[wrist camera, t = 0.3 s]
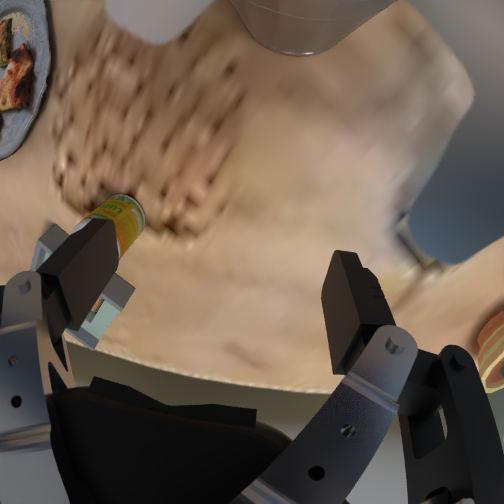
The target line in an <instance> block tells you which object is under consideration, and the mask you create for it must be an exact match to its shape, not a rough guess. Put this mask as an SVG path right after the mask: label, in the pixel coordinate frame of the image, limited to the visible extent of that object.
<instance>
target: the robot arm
mask: <svg viewBox="0 0 504 504" xmlns="http://www.w3.org/2000/svg"><path fill="white" fill-rule="evenodd" d="M230 1H231V3H232V4H233V6H234V7H235V9H236V11H237V12H238V14H239V16H240V18H241V19H242V21H243V22H244V24H245V26H246V28H247V29H248V31H249V33H250V34H251V35H252V36H253V37H254V38H255V40H257V41H258V42H259V43H260V44H262V45H263V46H264V47H266V48H268V49H270V50H272V51H274V52H277V53H280V54H284V55H289V56H296V57H299V56H311V55H316V54H320V53H322V52H324V51H326V50H329V49H330V48H331V47H333V46H334V45H336V44H337V43H338V42H340V41H341V40H343V39H344V38H345V37H346V36H348V35H349V34H350V33H352V32H353V31H354V30H356V29H357V28H359V27H360V26H361V25H363V24H364V23H365V22H367V21H368V20H370V19H371V18H372V17H374V16H375V15H377V14H378V13H380V12H381V11H383V10H384V9H385V8H387V7H388V6H389V5H391V4H392V3H394V2H395V1H397V0H230ZM118 263H119V252H118V245H117V237H116V229H115V223H114V221H113V220H111V219H103V218H93V219H91V220H90V221H89V222H88V223H87V224H86V225H85V226H84V227H83V228H82V229H80V230H78V231H76V232H75V233H73V234H71V235H70V236H69V237H68V238H67V239H66V240H65V241H64V242H63V243H62V244H61V245H60V246H59V247H58V248H57V249H56V251H54V252H53V253H52V254H51V255H50V256H49V257H48V258H47V259H46V260H45V262H44V263H43V264H42V265H41V266H40V267H39V268H38V269H37V270H36V271H24V272H20V273H18V274H16V275H14V276H13V277H12V278H11V279H10V280H9V281H8V282H7V284H6V285H1V286H0V504H350V503H349V502H348V501H347V500H346V497H347V496H348V494H349V493H350V492H351V490H352V489H353V487H354V486H355V484H356V483H357V481H358V480H359V478H360V477H361V475H362V474H363V472H364V471H365V469H366V467H367V466H368V464H369V463H370V461H371V459H372V458H373V456H374V454H375V453H376V451H377V449H378V448H379V446H380V444H381V442H382V441H383V439H384V437H385V435H386V433H387V431H388V429H389V428H390V425H391V424H392V422H393V420H394V418H395V416H396V414H397V413H398V416H399V422H400V429H401V436H402V443H403V451H404V459H405V469H406V479H407V492H408V504H504V454H503V449H502V445H501V441H500V437H499V433H498V430H497V427H496V423H495V419H494V416H493V413H492V409H491V406H490V403H489V400H488V397H487V394H486V391H485V389H484V386H483V383H482V380H481V378H480V375H479V373H478V370H477V367H476V365H475V362H474V360H473V358H472V357H471V355H470V354H469V353H468V352H467V351H466V350H464V349H463V348H461V347H459V346H457V345H447V346H445V347H444V348H443V349H442V351H441V352H440V353H439V355H437V354H433V353H430V352H427V351H423V350H420V349H418V347H417V343H416V341H415V339H414V338H413V337H412V336H411V335H410V334H409V333H408V332H407V331H405V330H404V329H402V328H400V327H397V326H396V323H395V321H394V318H393V316H392V313H391V311H390V308H389V306H388V303H387V301H386V299H385V298H384V297H385V296H384V293H383V291H382V290H381V286H380V284H379V282H378V279H377V277H376V276H375V275H374V274H373V273H372V272H371V271H370V270H369V269H368V268H363V267H362V264H361V262H360V259H359V257H358V255H357V253H355V252H348V251H341V250H335V251H334V253H333V256H332V259H331V262H330V265H329V268H328V272H327V275H326V278H325V281H324V284H323V288H322V295H321V300H322V307H323V313H324V318H325V325H326V331H327V337H328V343H329V350H330V357H331V364H332V371H333V374H336V375H345V377H344V378H343V379H342V381H341V382H340V383H339V385H338V386H337V387H336V389H335V390H334V391H333V393H332V394H331V395H330V397H329V398H328V399H327V401H326V402H325V403H324V404H323V406H322V407H321V408H320V409H319V411H318V412H317V413H316V415H315V416H314V417H313V418H312V419H311V420H310V422H309V423H308V424H307V425H306V426H305V428H304V429H303V430H302V431H301V432H300V433H299V435H298V436H297V437H296V438H295V439H294V440H292V439H290V438H289V437H288V436H287V435H285V434H284V433H283V432H281V431H279V430H278V429H276V428H274V427H272V426H270V425H268V424H265V423H263V422H260V421H257V420H256V413H257V409H249V408H241V407H232V406H225V405H218V404H206V405H205V404H204V405H184V406H183V405H180V406H169V405H165V404H163V403H161V402H159V401H157V400H155V399H153V398H151V397H149V396H147V395H145V394H143V393H141V392H139V391H137V390H135V389H133V388H132V387H129V386H126V385H122V384H119V383H115V382H112V381H109V380H105V379H102V378H99V377H95V376H94V378H93V380H92V382H91V384H90V386H82V387H76V385H75V382H74V379H73V375H72V371H71V367H70V362H69V357H68V352H67V347H66V341H65V337H64V335H63V332H64V330H65V329H66V328H67V329H70V330H74V331H77V332H78V330H79V329H80V327H81V325H82V324H83V322H84V320H85V319H86V317H87V315H88V314H89V312H90V311H91V309H92V307H93V306H94V304H95V302H96V301H97V299H98V298H99V296H100V295H101V293H102V292H103V290H104V288H105V287H106V285H107V284H108V282H109V281H110V279H111V278H112V276H113V275H114V273H115V272H116V270H117V267H118ZM442 408H443V412H444V416H445V419H446V424H447V437H446V439H445V436H444V432H443V427H442V423H441V418H440V414H439V411H440V410H441V409H442Z"/></svg>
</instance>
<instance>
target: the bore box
mask: <svg viewBox="0 0 504 504" xmlns="http://www.w3.org/2000/svg"><path fill="white" fill-rule="evenodd" d="M68 237H69V235H68V234H67V233H66V232H65V231H63V230H62V229H61V228H60V227H59V226H58V225H57V224H56V225H54V226H53V227H52V228H51V229H50V230H48V231H47V232H46V233H45V234H44V235H42V236H41V237H40V238H39V239H38V241H37V245H36V249H35V252H34V256H33V260H32V265H31V269H30V271H36V270H37V269H38V268H39V267H40V266H41V265H42V264H43V263H44V262H45V260H46V259H47V258H48V257H49V256H50V255H51V254H52V253H53V252H54V251H56V249H57V248H58V247H59V246H60V245H61V244H62V243H63V242H64V241H65V240H66V239H67V238H68ZM135 289H136V288H134V287H133V286H132V285H130V284H129V283H128V282H126V281H125V280H124V279H122V278H121V277H120V276H118V275H117V274H116V273H114V275H113V276H112V278H111V279H110V281H109V282H108V284H107V285H106V287H105V288H104V290H103V292H102V293H101V295H100V297H101V298H103V299H104V300H105V301H104V302H103V304H102V305H101V307H100V309H99V310H98V312H97V314H95V313H93V312H92V311H90V312H89V314H88V315H87V317H86V319H85V320H84V322H83V324H82V325H81V327H80V329H79V330H78V332H77V331H74V330H70V329H67V328H66V329H65V331H66V332H68V333H69V334H70V335H71V336H73V337H74V338H75V339H77V340H78V341H79V342H81V343H82V344H84V345H85V346H86V347H88V348H89V349H91V350H92V351H93V350H94V349H95V347H96V345H97V343H98V341H99V340H100V338H101V337H102V335H103V334H104V333H105V331H106V330H107V328H108V327H109V326H110V324H111V323H112V321H113V320H114V319H115V317H116V316H117V315H118V313H119V312H121V311H122V310H123V308H124V307H125V305H126V303H127V302H128V300H129V298H130V297H131V295H132V293H133V292H134V290H135Z"/></svg>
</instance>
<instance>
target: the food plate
mask: <svg viewBox="0 0 504 504" xmlns="http://www.w3.org/2000/svg"><path fill="white" fill-rule="evenodd" d="M43 1H44V0H0V21H1V20H2V18H4V17H5V16H7V15H9V14H10V15H11V14H12V13H13V12H14V14H16V13H17V12H20V14H21V15H22V14H24V15H25V16H24V19H25V20H24V21H26V22H28V21H29V18H30V21H29V23H30V24H31V25H32V26H29V27H30V28H29V31H31V28H32V31H31V32H29V34H28V37H29V36H30V37H29V39H28V40H26V39H27V35H26V36H25V37H24V39H23V34H22V32H23V30H24V27H23V26H24V25H22V28H19V29H21V30H20V34H19V33H16V35H15V32H13V35H12V31H11V27H12V26H11V25H12V18H13V17H12V18H11V19H8V20H7V21H6V20H3V21H2V22H1V23H0V161H1V160H4V159H6V158H8V157H10V156H11V155H13V154H14V153H16V151H18V149H20V147H21V146H22V144H23V142H24V141H25V139H26V137H27V135H28V133H29V130H30V129H31V126H32V125H33V123H34V122H35V121H36V119H37V118H38V115H39V111H40V109H41V106H42V100H44V99H46V98H43V99H41V97H42V96H43V95H44V94H45V92H46V90H47V84H46V78H47V76H48V75H50V72H51V56H50V55H51V51H50V52H49V49H50V44H49V37H48V35H49V32H48V23H47V21H46V14H47V13H46V11H47V9H45V4H44V2H43ZM21 15H20V16H21ZM16 17H17V15H16ZM18 20H19V19H18ZM29 23H28V24H27V25H29ZM18 26H19V25H18ZM20 26H21V25H20ZM33 26H34V27H35V28H34V29H35V32H33ZM14 29H15V28H14ZM30 33H31V35H30ZM35 33H36V34H35ZM33 35H34V36H33ZM41 35H42V36H41ZM31 37H32V38H31ZM34 38H35V39H34ZM29 41H30V42H29ZM31 41H32V44H31ZM35 45H36V46H35ZM11 46H12V47H11ZM49 54H50V55H49Z"/></svg>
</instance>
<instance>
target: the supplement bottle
mask: <svg viewBox="0 0 504 504" xmlns="http://www.w3.org/2000/svg"><path fill="white" fill-rule="evenodd" d="M93 218H103V219H111V220H113V221H114V223H115V229H116V237H117V245H118V252H119V260H120V258H121V257H122V256H123V255H124V253H125V252H126V251H127V250H128V248H129V247H130V246H131V245H132V244H133V242H134V241H135V240H136V239H137V238H138V236H139V235H140V234H141V233H142V231H143V229H144V226H145V215H144V212H143V210H142V208H141V206H140V205H139V204H138V202H137V201H136V200H134V199H133V198H131V197H129V196H127V195H121V194H120V195H115V196H112V197H111V198H109V199H108V200H106V201H105V202H104V203H103V204H101V205H100V206H99V207H98V208H96V209H95V210H94V211H93V212H91V213H90V214H89V215H88V216H87V217H85V218H84V219H83V220H82V221H81V222H79V223H78V224H77V225H76V227H75V228H74V229H73V232H72V234H73V233H75V232H76V231H78V230H80V229H82V228H83V227H84V226H85V225H86V224H87V223H88V222H89V221H90V220H91V219H93Z"/></svg>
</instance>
